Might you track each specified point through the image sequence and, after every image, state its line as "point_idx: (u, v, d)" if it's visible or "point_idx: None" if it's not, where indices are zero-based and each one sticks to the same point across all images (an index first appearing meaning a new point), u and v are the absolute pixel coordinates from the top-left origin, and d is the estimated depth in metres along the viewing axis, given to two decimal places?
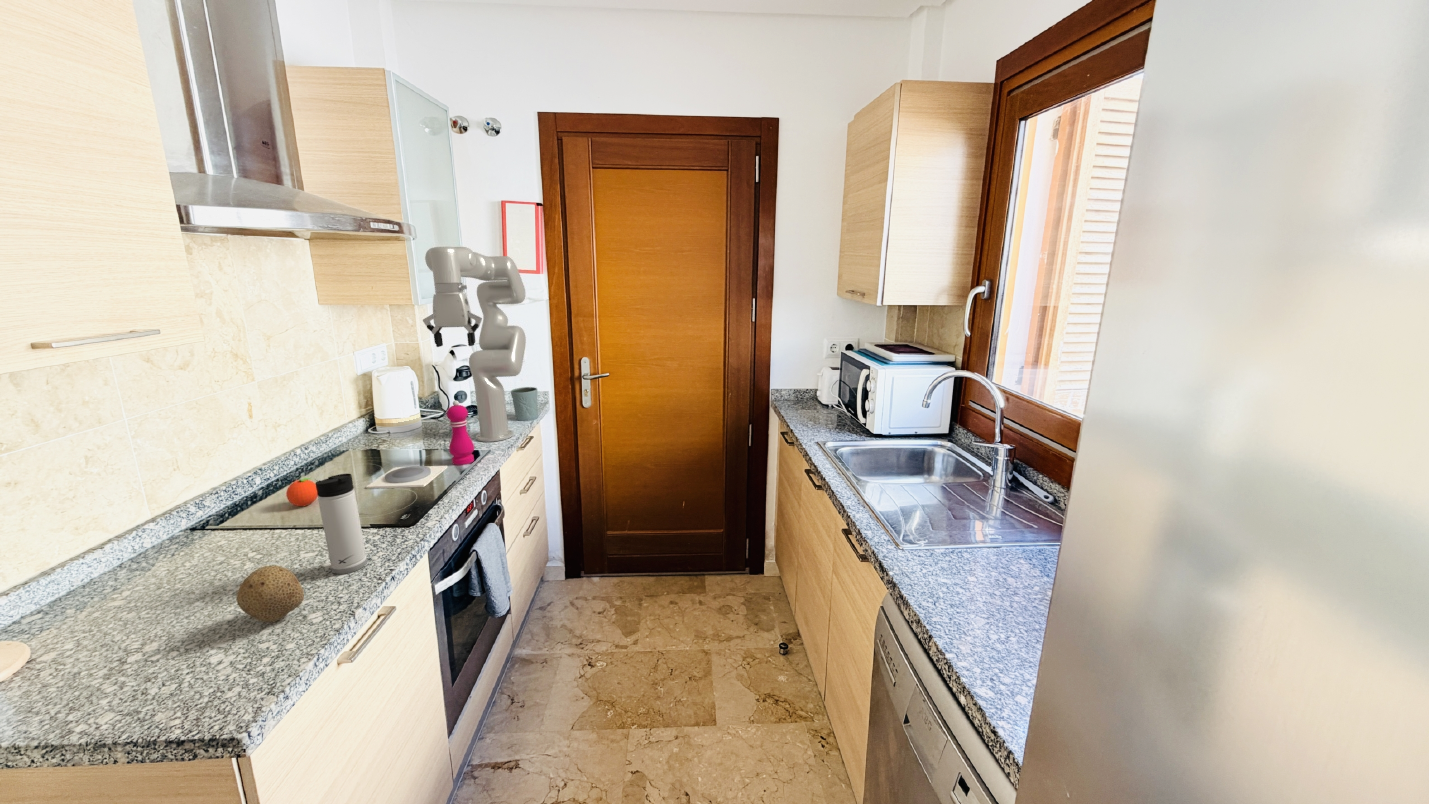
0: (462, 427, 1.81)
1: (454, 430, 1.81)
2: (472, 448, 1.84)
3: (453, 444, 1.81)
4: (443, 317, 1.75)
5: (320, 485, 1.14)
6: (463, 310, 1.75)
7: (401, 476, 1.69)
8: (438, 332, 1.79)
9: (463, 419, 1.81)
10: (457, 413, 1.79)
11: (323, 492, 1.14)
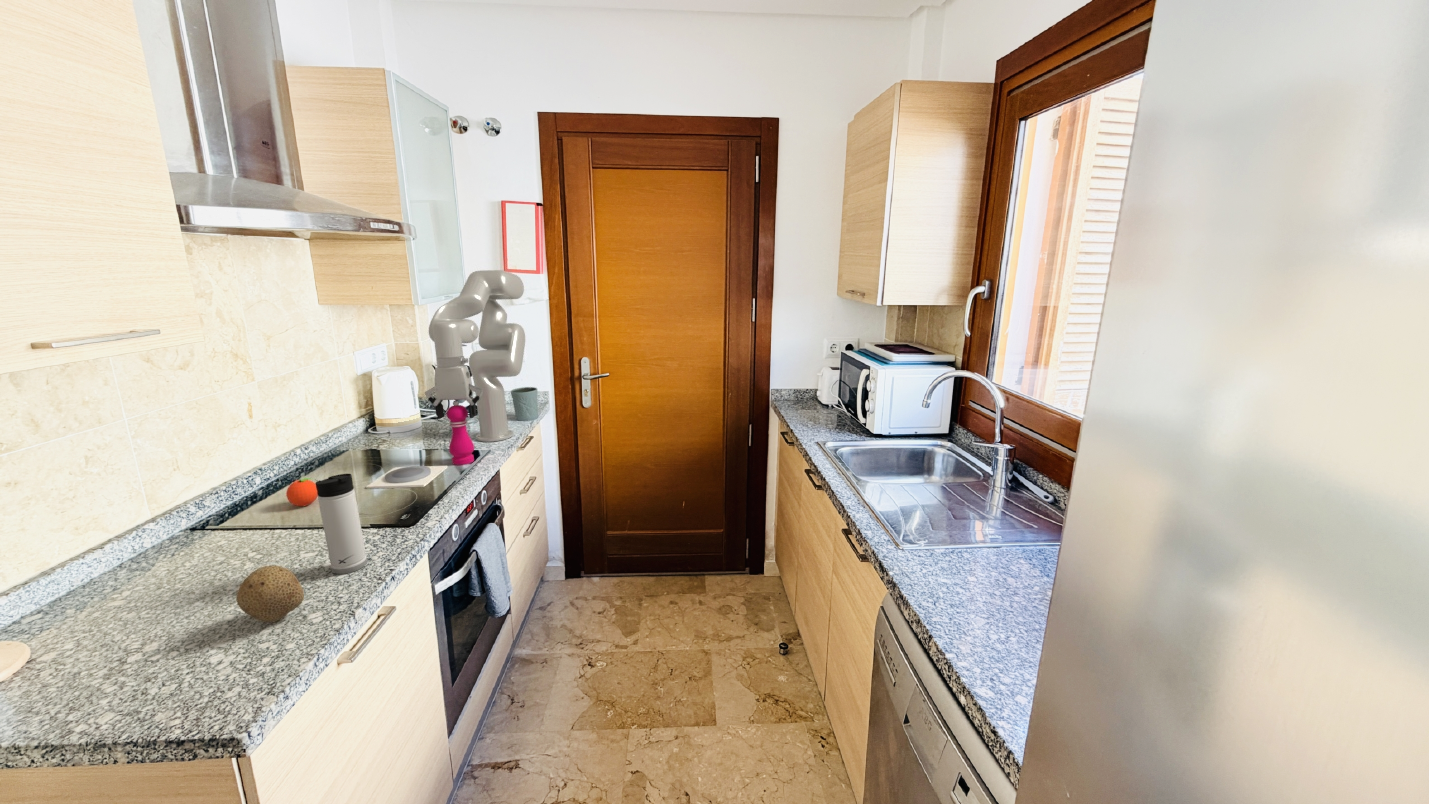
0: (462, 427, 1.81)
1: (454, 430, 1.81)
2: (472, 448, 1.84)
3: (453, 444, 1.81)
4: (445, 390, 1.77)
5: (320, 485, 1.14)
6: (464, 383, 1.77)
7: (401, 476, 1.69)
8: (439, 404, 1.80)
9: (463, 419, 1.81)
10: (457, 413, 1.79)
11: (323, 492, 1.14)
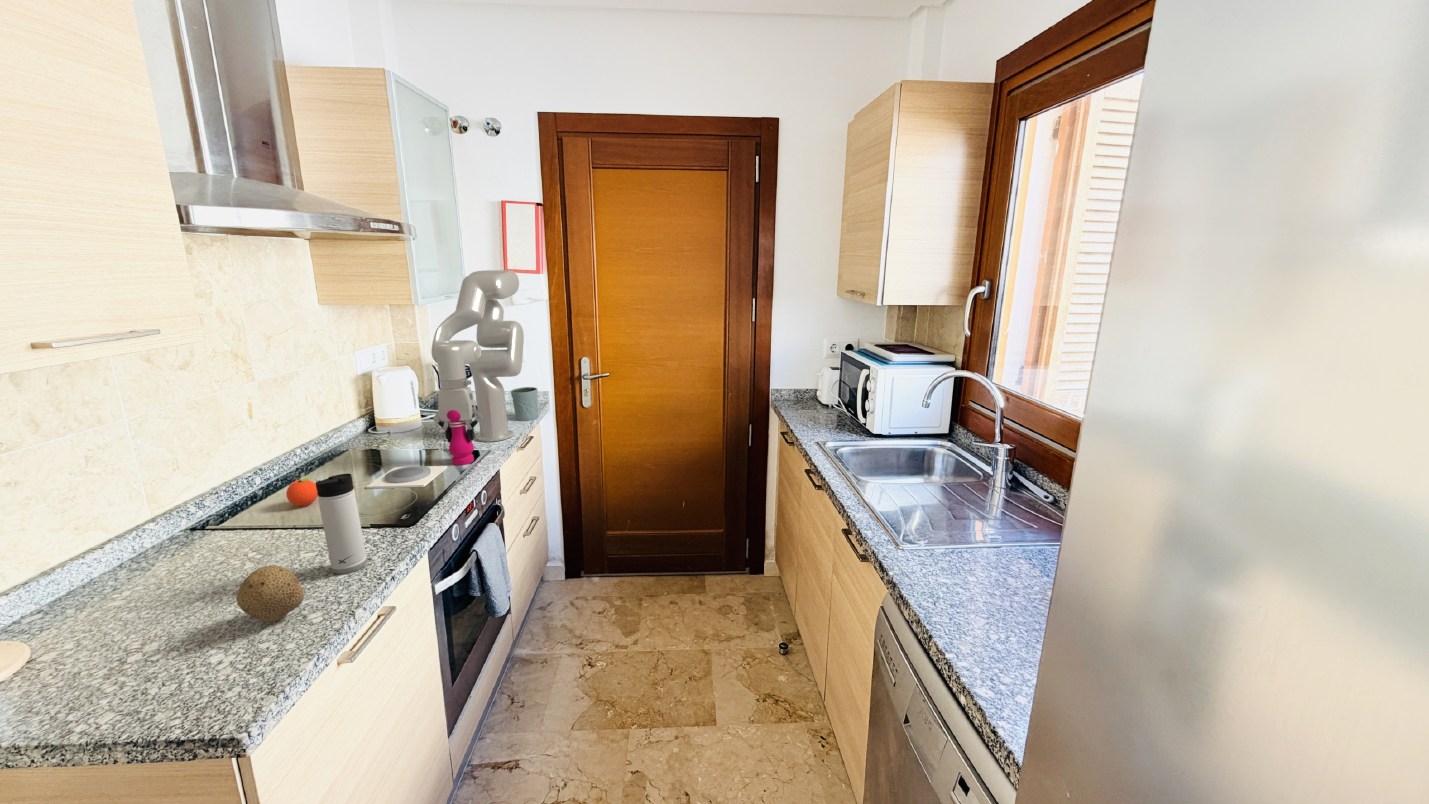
0: (461, 427, 1.81)
1: (453, 430, 1.81)
2: (472, 448, 1.84)
3: (452, 444, 1.81)
4: None
5: (320, 485, 1.14)
6: (468, 405, 1.79)
7: (401, 476, 1.69)
8: (449, 428, 1.83)
9: None
10: (456, 413, 1.79)
11: (323, 492, 1.14)
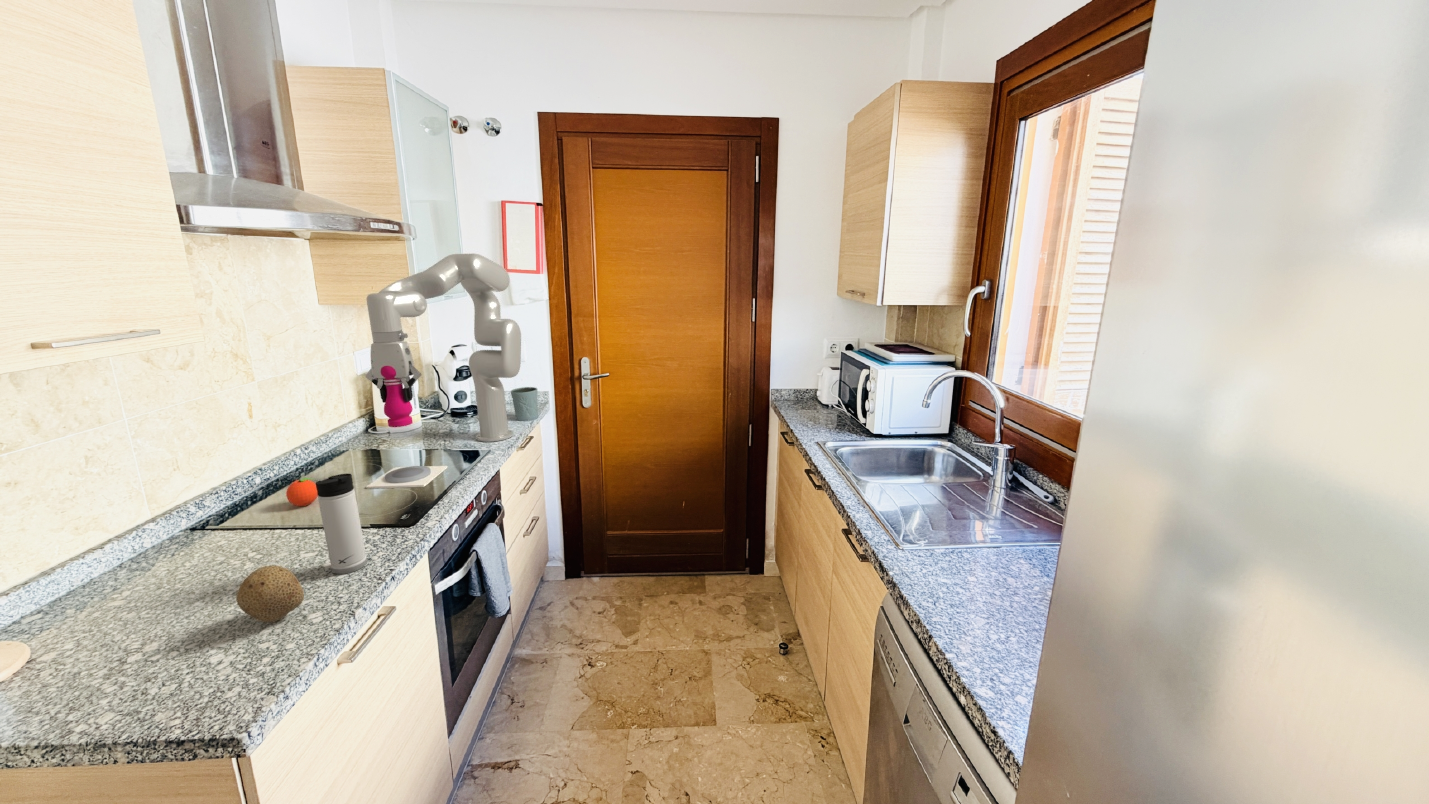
0: (397, 385, 1.65)
1: (388, 388, 1.64)
2: (409, 409, 1.67)
3: (387, 404, 1.65)
4: None
5: (320, 485, 1.14)
6: (403, 361, 1.63)
7: (401, 476, 1.69)
8: (384, 386, 1.66)
9: None
10: (390, 370, 1.62)
11: (323, 492, 1.14)
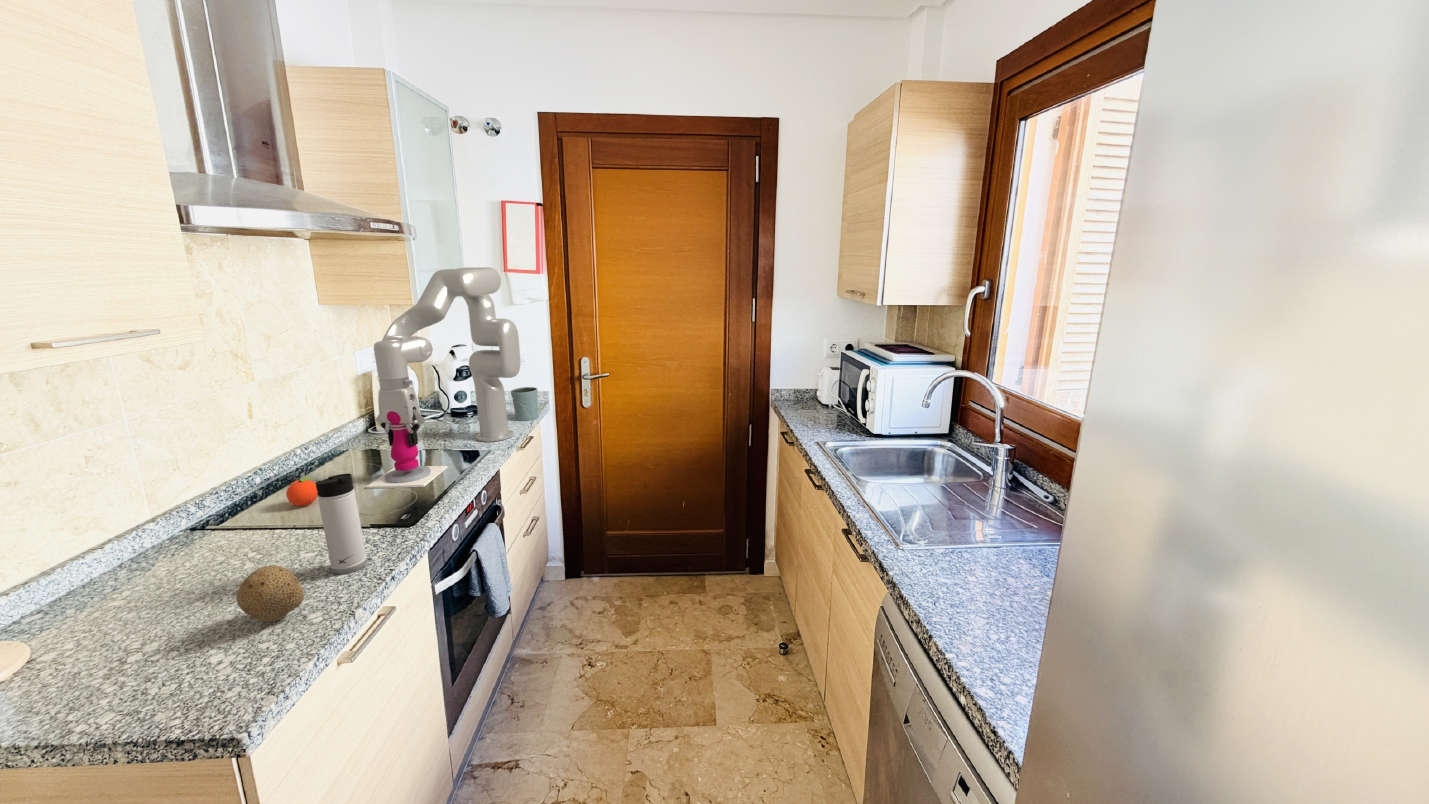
0: (402, 430, 1.68)
1: (394, 433, 1.68)
2: (414, 453, 1.70)
3: (393, 448, 1.68)
4: None
5: (320, 485, 1.14)
6: (407, 407, 1.65)
7: (401, 476, 1.69)
8: (392, 430, 1.70)
9: None
10: (395, 415, 1.65)
11: (323, 492, 1.14)
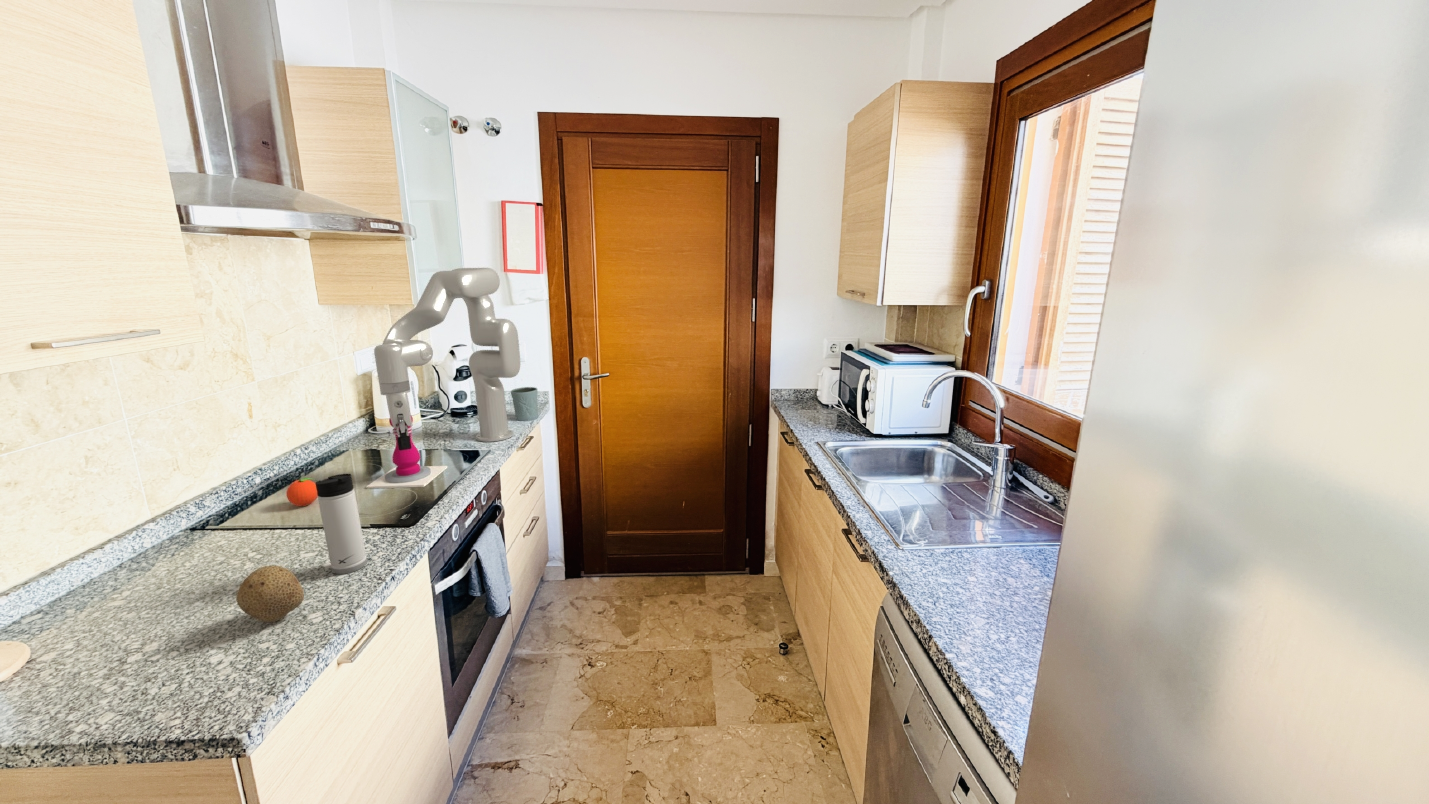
0: None
1: None
2: (405, 461, 1.68)
3: None
4: None
5: (320, 485, 1.14)
6: (391, 413, 1.63)
7: (401, 476, 1.69)
8: None
9: None
10: (390, 420, 1.66)
11: (323, 492, 1.14)
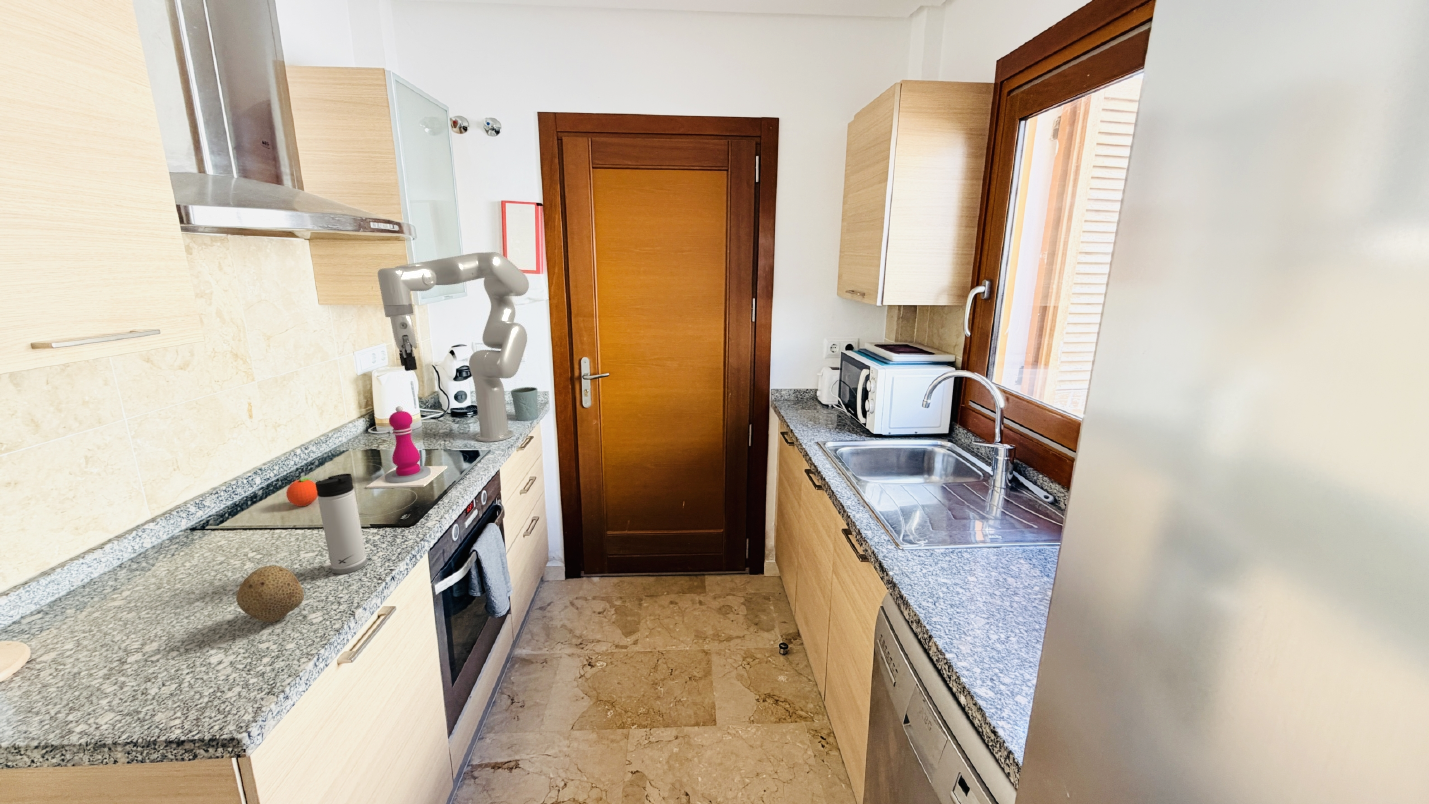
0: (398, 436, 1.68)
1: None
2: (405, 461, 1.68)
3: None
4: None
5: (320, 485, 1.14)
6: (396, 334, 1.70)
7: (401, 476, 1.69)
8: None
9: (398, 428, 1.67)
10: (390, 420, 1.66)
11: (323, 492, 1.14)
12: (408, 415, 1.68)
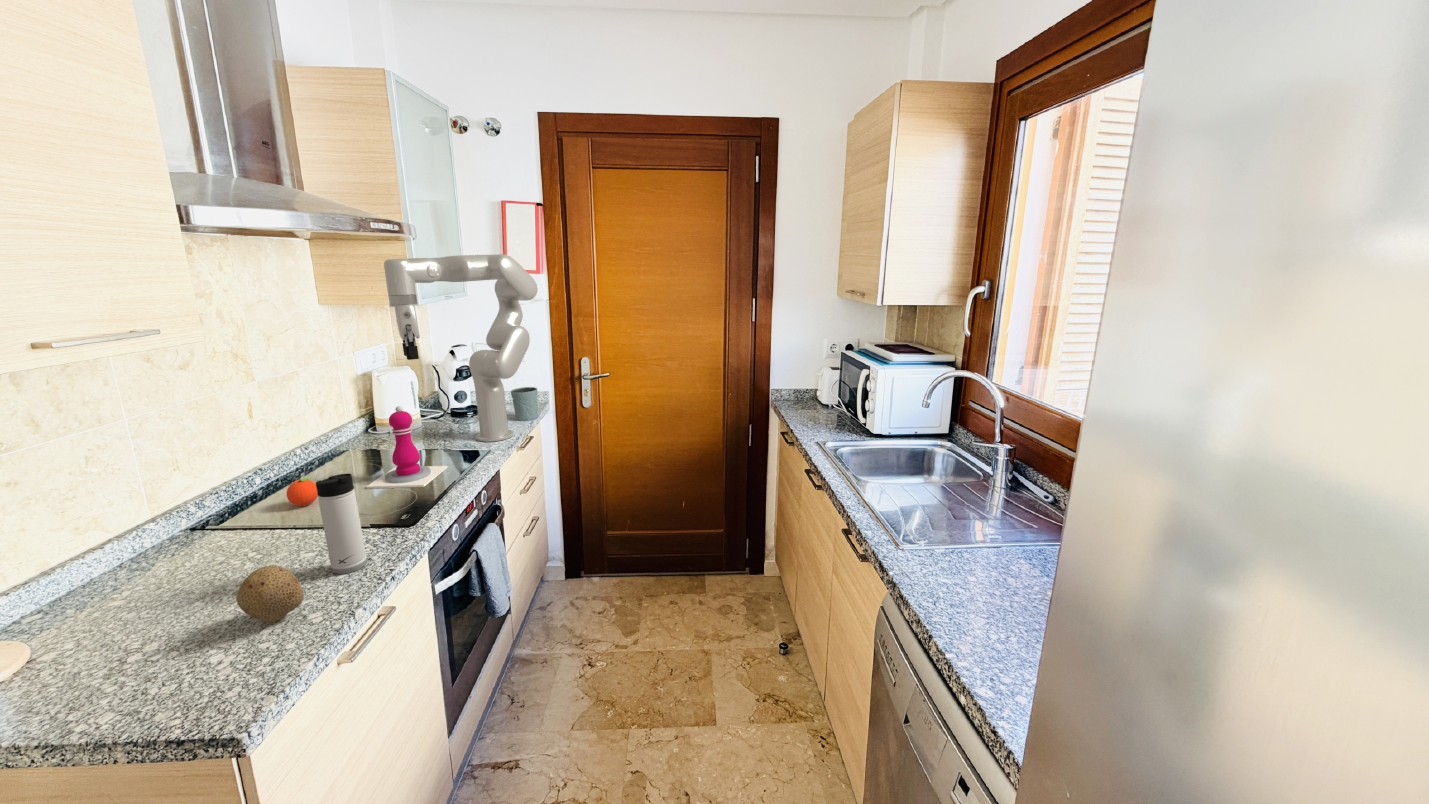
0: (398, 436, 1.68)
1: None
2: (405, 461, 1.68)
3: None
4: (398, 328, 1.78)
5: (320, 485, 1.14)
6: (400, 323, 1.73)
7: (401, 476, 1.69)
8: (407, 342, 1.83)
9: (398, 428, 1.67)
10: (389, 420, 1.66)
11: (323, 492, 1.14)
12: (408, 415, 1.68)
